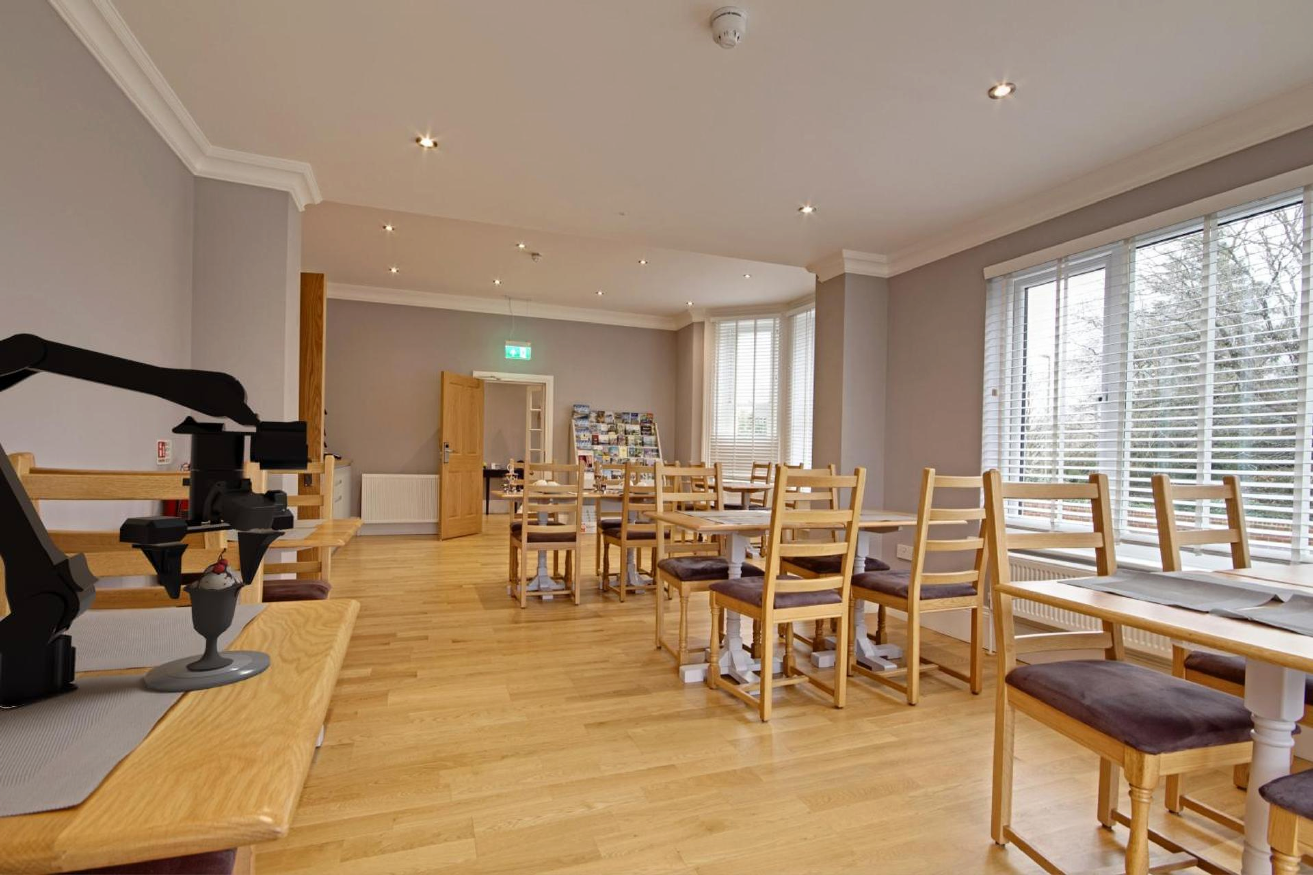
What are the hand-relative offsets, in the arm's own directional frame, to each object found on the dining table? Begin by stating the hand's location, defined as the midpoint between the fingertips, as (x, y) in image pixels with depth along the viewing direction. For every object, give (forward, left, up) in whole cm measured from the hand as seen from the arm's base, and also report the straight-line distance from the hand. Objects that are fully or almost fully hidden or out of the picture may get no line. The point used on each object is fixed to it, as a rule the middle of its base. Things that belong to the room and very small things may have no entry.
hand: (212, 591), depth 80 cm
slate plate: (0, 0, -10) cm, 10 cm away
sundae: (0, 0, -10) cm, 10 cm away
